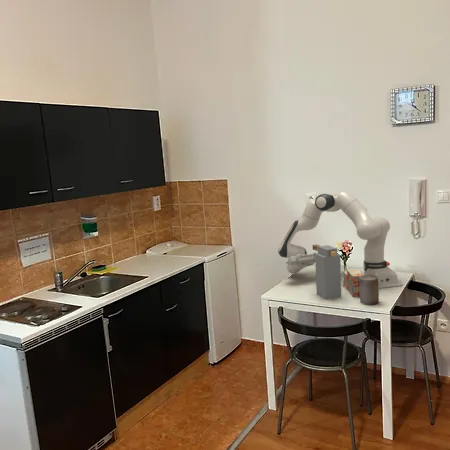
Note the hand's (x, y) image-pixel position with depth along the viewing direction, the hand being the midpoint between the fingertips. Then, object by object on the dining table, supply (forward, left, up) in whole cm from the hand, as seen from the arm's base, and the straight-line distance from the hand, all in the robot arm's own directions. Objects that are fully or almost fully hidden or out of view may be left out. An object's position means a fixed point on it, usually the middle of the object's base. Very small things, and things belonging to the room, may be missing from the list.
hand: (308, 254), depth 272 cm
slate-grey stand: (-8, +22, -19) cm, 30 cm away
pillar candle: (-27, +35, -19) cm, 48 cm away
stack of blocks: (-23, +15, -19) cm, 34 cm away
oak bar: (-7, +18, +5) cm, 20 cm away
